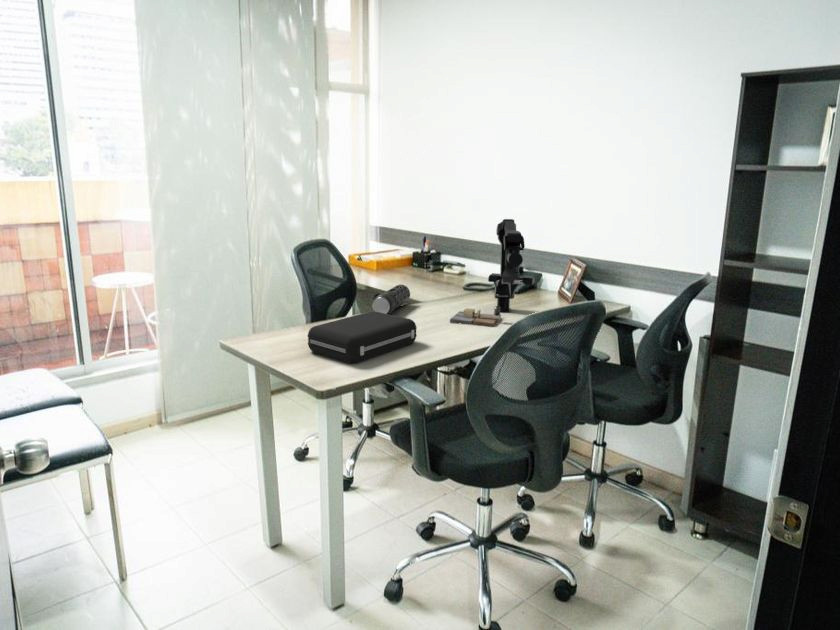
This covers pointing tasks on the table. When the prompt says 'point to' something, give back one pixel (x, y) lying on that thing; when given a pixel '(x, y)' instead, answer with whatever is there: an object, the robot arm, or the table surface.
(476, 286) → the table surface
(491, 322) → the board
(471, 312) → the brass keeper
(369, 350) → the briefcase
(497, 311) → the steel bolt
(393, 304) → the dark grey textured cylinder
